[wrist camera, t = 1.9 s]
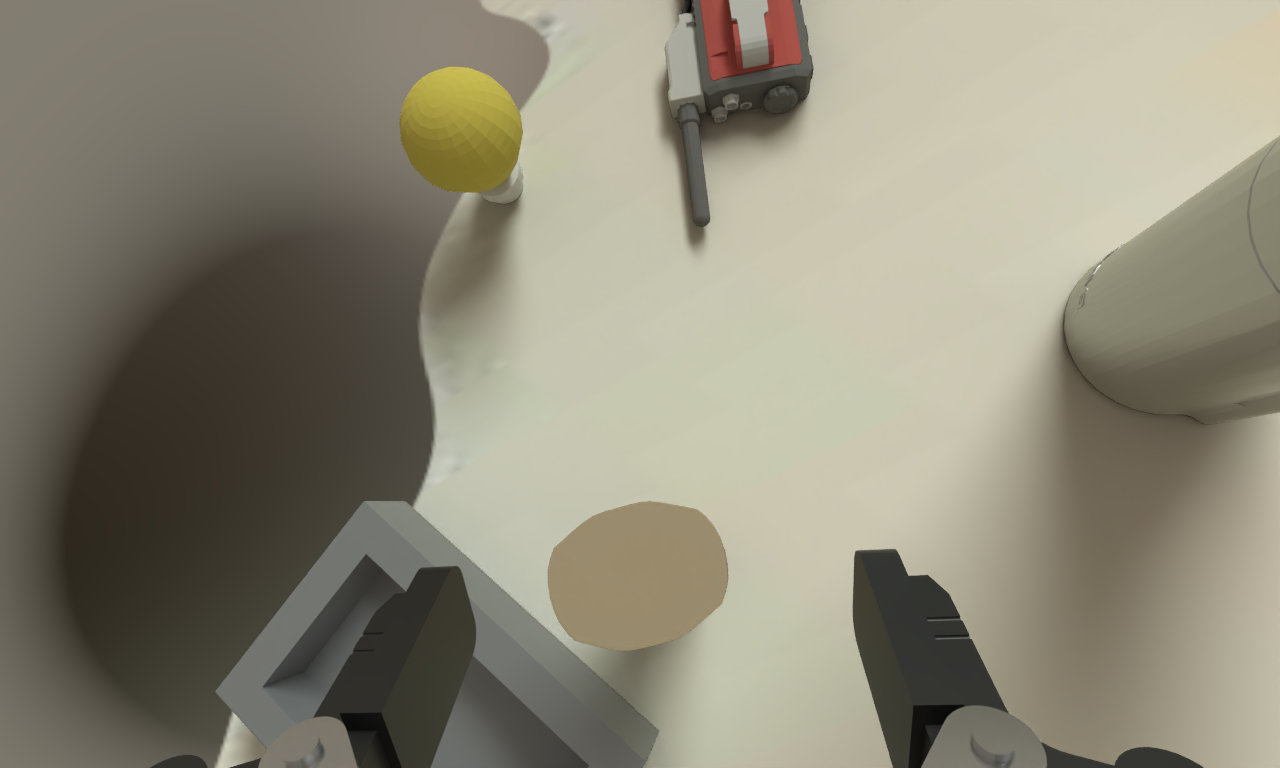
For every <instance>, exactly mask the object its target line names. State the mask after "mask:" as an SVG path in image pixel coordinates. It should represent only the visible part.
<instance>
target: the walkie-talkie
mask: <svg viewBox="0 0 1280 768" xmlns="http://www.w3.org/2000/svg"><path fill="white" fill-rule="evenodd" d="M692 8H693V13H691V14H690V11H691V0H685V5H684V7H683V10H682V14H680V15H679V23H678V25H677V26H676V28H675V30H674V31H673V33H672V35H671V36H670V38H669V40H668V41H667V43H666V45H665V54H666V63H667V72H668V80H669V91H668V100H669V105H670V110H671V114H672V117H673V118H677V117H678V119H679V126H680V128H681V129H682V133H683V141H684V150H685V158H686V166H687V174H688V182H689V190H690V198H691V206H692V214H693V221H694V223H695V224H696V225H697V226H699V227H704V226H706V225H707V224H708V223H709V222H710V213H709V205H708V197H707V189H706V182H705V174H704V166H703V159H702V151H701V143H700V135H699V128H698V127H699V125H700V118H699V113H704V112H707V113H708V114H709V115H711V116H712V117H714V121H715V122H719V123H720V122H723V121H725V120H726V119H727V114H728V113H733V112H739V111H744V110H749V109H755V108H760V107H764V109H765V110H767V112H770V113H782V112H785V111H787V110H789V109H791V108H793V107H794V106H795V104H796V103H797V101H798V100H803V99H805V98H806V97H807V95H808V93H809V89H810V81H811V79H812V75H813V64H812V58H811V55H810V54H809V48H808V34H807V28H806V26H805V24H804V18H803V12H802V6H801V5H800V0H692Z"/></svg>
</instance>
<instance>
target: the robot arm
mask: <svg viewBox="0 0 1280 768" xmlns="http://www.w3.org/2000/svg"><path fill="white" fill-rule="evenodd" d="M1064 331H1065V336H1066V341H1067V346H1068V349H1069V351H1070V354H1071V356H1072V358H1073V360H1074V363H1075V364H1076V366H1077V367H1078V369H1079V370H1080V371H1081V373H1082V374H1083V375H1084V377H1085V378H1086V379H1087V380H1088V381H1089V382H1090V383H1091V384H1092V385H1093V386H1094V387H1095V388H1097V389H1098V390H1099V391H1100V392H1101V393H1103V394H1104V395H1106V396H1108V397H1109V398H1111V399H1112V400H1114V401H1116V402H1117V403H1119V404H1122V405H1125V406H1127V407H1130V408H1132V409H1135V410H1138V411H1143V412H1149V413H1154V414H1183V415H1188V416H1191V417H1193V418H1195V419H1197V420H1198V421H1200V422H1202V423H1203V424H1206V425H1208V424H1215V423H1220V422H1226V421H1232V420H1238V419H1244V418H1250V417H1255V416H1261V415H1267V414H1273V413H1279V412H1280V136H1279V137H1277V138H1276V139H1274V140H1273V141H1272V142H1270V143H1269V144H1267V145H1266V146H1264V147H1263V148H1262V149H1260V150H1259V151H1257V152H1256V153H1254V154H1253V155H1252V156H1250V157H1249V158H1247V159H1246V160H1244V161H1243V162H1242V163H1240V164H1239V165H1237V166H1236V167H1234V168H1233V169H1232V170H1230V171H1229V172H1227V173H1226V174H1224V175H1223V176H1221V177H1220V178H1219V179H1217V180H1216V181H1214V182H1213V183H1211V184H1210V185H1209V186H1207V187H1206V188H1204V189H1203V190H1201V191H1200V192H1199V193H1197V194H1196V195H1194V196H1193V197H1191V198H1190V199H1189V200H1187V201H1186V202H1184V203H1183V204H1181V205H1180V206H1179V207H1177V208H1176V209H1174V210H1173V211H1171V212H1170V213H1169V214H1167V215H1166V216H1164V217H1163V218H1161V219H1160V220H1159V221H1157V222H1156V223H1154V224H1153V225H1151V226H1150V227H1149V228H1147V229H1146V230H1144V231H1143V232H1141V233H1140V234H1139V235H1137V236H1136V237H1134V238H1133V239H1132V240H1130V241H1129V242H1127V243H1126V244H1124V245H1122V246H1120V247H1118V248H1117V249H1116V250H1114V251H1113V252H1111V253H1110V254H1109V255H1107V256H1106V257H1105V258H1104V259H1103V260H1102V261H1100V262H1099V263H1098V264H1096V265H1095V266H1093V267H1092V268H1091V269H1090V270H1089V271H1088V272H1087V273H1086V274H1085V275H1084V276H1083V277H1082V278H1081V279H1080V280H1079V281H1078V283H1077V285H1076V286H1075V288H1074V290H1073V292H1072V293H1071V295H1070V297H1069V301H1068V304H1067V307H1066V311H1065V324H1064ZM853 623H854V631H855V637H856V641H857V645H858V649H859V652H860V656H861V659H862V662H863V666H864V669H865V673H866V676H867V680H868V683H869V686H870V690H871V693H872V697H873V700H874V704H875V707H876V710H877V714H878V717H879V721H880V724H881V728H882V731H883V734H884V738H885V741H886V745H887V748H888V751H889V755H890V758H891V762H892V765H893V768H1203V767H1202V766H1200V765H1199V764H1197V763H1195V762H1193V761H1191V760H1190V759H1188V758H1185V757H1183V756H1181V755H1179V754H1176V753H1173V752H1170V751H1167V750H1163V749H1158V748H1150V747H1139V748H1134V749H1130V750H1128V751H1126V752H1124V753H1123V754H1121V755H1120V756H1119V757H1118V759H1117V760H1116V763H1115V766H1113V765H1110V764H1106V763H1102V762H1098V761H1094V760H1090V759H1087V758H1083V757H1079V756H1075V755H1071V754H1068V753H1065V752H1061V751H1059V750H1056V749H1054V748H1052V747H1049V746H1047V745H1046V744H1044V743H1042V742H1040V740H1039V739H1038V737H1037V736H1036V735H1035V734H1034V732H1033V731H1032V730H1031V729H1030V728H1029V727H1028V726H1026V725H1025V724H1024V723H1023V722H1022V721H1020V720H1019V719H1017V718H1016V717H1014V716H1012V715H1010V714H1009V713H1008V711H1007V709H1006V708H1005V706H1004V704H1003V702H1002V700H1001V698H1000V696H999V694H998V692H997V690H996V688H995V686H994V684H993V682H992V680H991V678H990V676H989V674H988V671H987V669H986V667H985V665H984V663H983V661H982V659H981V657H980V655H979V653H978V651H977V649H976V647H975V645H974V643H973V641H972V639H970V638H969V633H968V631H967V629H966V627H965V625H964V623H963V621H961V620H960V615H959V613H958V611H957V609H956V607H955V605H954V603H953V601H952V599H951V597H950V595H949V594H948V593H947V592H946V591H945V590H944V589H943V588H942V587H941V586H940V585H938V584H937V583H936V582H935V581H934V580H933V579H932V578H931V577H929V576H928V575H920V576H908V574H907V572H906V569H905V567H904V565H903V563H902V560H901V558H900V556H899V554H898V552H897V550H895V549H884V550H859V551H856V552H855V557H854V586H853ZM475 644H476V623H475V618H474V615H473V611H472V607H471V604H470V600H469V596H468V593H467V589H466V585H465V582H464V578H463V574H462V572H461V569H460V568H459V567H458V566H441V567H422V568H420V569H419V570H418V571H417V573H416V575H415V576H414V578H413V580H412V582H411V584H410V586H409V587H408V589H407V591H406V593H397V594H394V595H393V596H392V597H391V598H390V599H389V600H388V601H387V602H385V603H384V604H383V605H382V606H381V607H380V608H379V609H378V610H377V611H376V612H375V613H374V615H373V616H372V618H371V620H370V621H369V623H368V625H367V626H366V628H365V630H364V632H363V637H360V638H359V640H358V642H357V644H356V645H355V647H354V649H353V654H350V655H349V657H348V659H347V661H346V662H345V664H344V666H343V667H342V669H341V671H340V673H339V674H338V676H337V678H336V679H335V681H334V683H333V684H332V686H331V688H330V690H329V691H328V693H327V695H326V696H325V698H324V700H323V701H322V703H321V705H320V707H319V708H318V710H317V712H316V713H315V715H314V717H313V718H311V719H308V720H305V721H302V722H300V723H298V724H296V725H294V726H293V727H291V728H289V729H288V730H286V731H285V732H284V733H282V734H281V735H280V736H279V737H278V738H276V739H275V740H274V742H273V743H272V744H271V745H270V746H269V747H268V749H267V750H266V751H265V753H264V755H263V756H262V758H260V759H257V760H254V761H250V762H247V763H244V764H240V765H237V766H234V767H230V768H431V765H432V762H433V760H434V757H435V754H436V752H437V749H438V746H439V744H440V741H441V738H442V736H443V733H444V730H445V728H446V725H447V722H448V720H449V717H450V714H451V712H452V709H453V706H454V704H455V701H456V698H457V696H458V693H459V690H460V688H461V685H462V682H463V680H464V677H465V674H466V672H467V669H468V666H469V664H470V661H471V658H472V656H473V653H474V649H475ZM151 768H208V767H207V765H206V763H205V762H204V761H203V760H202V759H201V758H199V757H197V756H193V755H183V756H177V757H173V758H170V759H167V760H164V761H162V762H160V763H158V764H156V765H154V766H152V767H151Z"/></svg>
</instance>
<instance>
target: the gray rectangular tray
mask: <svg viewBox="0 0 1280 768" xmlns="http://www.w3.org/2000/svg"><path fill="white" fill-rule="evenodd" d="M441 566H458V567H459V568H460V569H461V572H462V574H463V578H464V582H465V585H466V589H467V593H468V596H469V600H470V604H471V607H472V611H473V615H474V618H475V623H476V644H475V649H474V653H473V656H472V658H471V661H470V664H469V666H468V669H467V672H466V674H465V677H464V680H463V682H462V685H461V688H460V690H459V693H458V696H457V698H456V701H455V704H454V706H453V709H452V712H451V714H450V717H449V720H448V722H447V725H446V728H445V730H444V733H443V736H442V738H441V741H440V744H439V746H438V749H437V752H436V754H435V757H434V760H433V762H432V765H431V768H642V767H643V765H644V764H645V763H646V761H647V758H648V756H649V754H650V751H651V749H652V746H653V744H654V742H655V739H656V737H657V735H658V732H659V730H657V729H656V728H655V727H654V726H653V725H652V724H651V723H650V722H649V721H647V720H646V719H645V718H644V717H643V716H642V715H641V714H640V713H639V712H638V711H636V710H635V709H634V708H633V707H632V706H631V705H630V704H629V703H628V702H626V701H625V700H624V699H623V698H622V697H621V696H620V695H619V694H618V693H617V692H615V691H614V690H613V689H612V688H611V687H610V686H609V685H608V684H607V683H605V682H604V681H603V680H602V679H601V678H600V677H599V676H598V675H597V674H596V673H594V672H593V671H592V670H591V669H590V668H589V667H588V666H587V665H586V664H585V663H583V662H582V661H581V660H580V659H579V658H578V657H577V656H576V655H575V654H573V653H572V652H571V651H570V650H569V649H568V648H567V647H566V646H565V645H564V644H562V643H561V642H560V641H559V640H558V639H557V638H556V637H555V636H554V635H552V634H551V633H550V632H549V631H548V630H547V629H546V628H545V627H544V626H543V625H541V624H540V623H539V622H538V621H537V620H536V619H535V618H534V617H533V616H531V615H530V614H529V613H528V612H527V611H526V610H525V609H524V608H523V607H522V606H520V605H519V604H518V603H517V602H516V601H515V600H514V599H513V598H512V597H510V596H509V595H508V594H507V593H506V592H505V591H504V590H503V589H502V588H501V587H499V586H498V585H497V584H496V583H495V582H494V581H493V580H492V579H491V578H489V577H488V576H487V575H486V574H485V573H484V572H483V571H482V570H481V569H480V568H478V567H477V566H476V565H475V564H474V563H473V562H472V561H471V560H470V559H469V558H467V557H466V556H465V555H464V554H463V553H462V552H461V551H460V550H459V549H457V548H456V547H455V546H454V545H453V544H452V543H451V542H450V541H449V540H448V539H446V538H445V537H444V536H443V535H442V534H441V533H440V532H439V531H438V530H436V529H435V528H434V527H433V526H432V525H431V524H430V523H429V522H428V521H427V520H425V519H424V518H423V517H422V516H421V515H420V514H419V513H418V512H417V511H415V510H414V509H413V508H412V507H411V506H410V505H409V504H408V503H407V502H405V501H364V502H363V503H362V504H361V506H360V507H359V508H358V510H357V511H356V512H355V513H354V515H353V516H352V517H351V519H350V520H349V521H348V522H347V524H346V525H345V526H344V528H343V529H342V530H341V531H340V533H339V534H338V535H337V537H336V538H335V539H334V540H333V542H332V543H331V544H330V545H329V547H328V548H327V549H326V551H325V552H324V553H323V555H322V556H321V557H320V558H319V560H318V561H317V562H316V563H315V565H314V566H313V567H312V568H311V570H310V571H309V572H308V574H307V575H306V576H305V577H304V579H303V580H302V581H301V583H300V584H299V585H298V586H297V588H296V589H295V590H294V592H293V593H292V594H291V596H290V597H289V598H288V599H287V600H286V602H285V603H284V604H283V606H282V607H281V608H280V609H279V611H278V612H277V613H276V615H275V616H274V617H273V618H272V620H271V621H270V622H269V624H268V625H267V626H266V627H265V629H264V630H263V632H261V634H260V635H259V636H258V638H257V639H256V640H255V641H254V643H253V644H252V645H251V647H250V648H249V649H248V650H247V652H246V653H245V654H244V656H243V657H242V658H241V659H240V661H239V662H238V663H237V664H236V666H235V667H234V668H233V670H232V671H231V672H230V673H229V675H228V676H227V677H226V679H225V680H224V681H223V682H222V684H221V685H220V686H219V688H218V689H217V690H216V693H217V694H218V695H219V696H220V698H221V699H222V700H223V701H224V702H225V703H226V704H227V705H228V706H229V708H230V709H231V710H232V711H233V712H234V713H235V714H236V715H237V716H238V718H239V719H240V720H241V721H242V722H243V723H244V724H245V725H246V726H247V728H248V729H249V730H250V731H251V732H252V733H253V734H254V735H255V736H256V738H257V739H258V740H259V741H260V742H261V743H262V744H263V745H264V746H265V747H266V749H268V747H269V746H270V745H271V744H272V743H273V742H274V740H275V739H276V738H278V737H279V736H280V735H281V734H282V733H284V732H285V731H286V730H288V729H289V728H291V727H293V726H294V725H296V724H298V723H300V722H302V721H305V720H308V719H311V718H313V717H314V715H315V713H316V712H317V710H318V708H319V707H320V705H321V703H322V701H323V700H324V698H325V696H326V695H327V693H328V691H329V690H330V688H331V686H332V684H333V683H334V681H335V679H336V678H337V676H338V674H339V673H340V671H341V669H342V667H343V666H344V664H345V662H346V661H347V659H348V657H349V655H350V654H353V649H354V647H355V645H356V644H357V642H358V640H359V638H360V637H363V632H364V630H365V628H366V626H367V625H368V623H369V621H370V620H371V618H372V616H373V615H374V613H375V612H376V611H377V610H378V609H379V608H380V607H381V606H382V605H383V604H384V603H385V602H387V601H388V600H389V599H390V598H391V597H392V596H393V595H394V594H397V593H406V591H407V589H408V587H409V586H410V584H411V582H412V580H413V578H414V576H415V575H416V573H417V571H418V570H419V569H420V568H422V567H441Z"/></svg>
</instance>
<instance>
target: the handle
mask: <svg viewBox="0 0 1280 768" xmlns="http://www.w3.org/2000/svg"><path fill="white" fill-rule="evenodd" d="M727 583H728V564H727V559H726V554H725V549H724V547H723V544H722V541H721V538H720V536H719V534H718V533H717V531H716V529H715V527H714V525H713V524H712V523H711V522H710V521H709V520H708V518H707V517H706V516H705V515H704V514H702V513H701V512H700V511H699V510H697V509H693V508H688V507H683V506H678V505H672V504H666V503H660V502H651V501H648V502H639V503H635V504H630V505H627V506H623V507H619V508H616V509H612V510H608V511H605V512H602V513H600V514H597V515H595V516H592V517H591V518H590V519H588V520H587V521H585V522H584V523H582V524H581V525H580V526H578V527H577V528H576V529H575V530H574V531H573V532H571V533H570V534H569V535H568V536H567V537H566V538H565V539H564V540H562V541H561V542H560V543H559V544H558V545H557V546H556V547H555V548H554V549H553V552H552V555H551V558H550V562H549V567H548V587H549V594H550V599H551V603H552V606H553V609H554V612H555V614H556V616H557V618H558V620H559V623H560V624H561V626H562V627H563V628H564V630H565V631H566V632H567V633H568V634H569V635H570V636H571V637H572V638H573V639H574V640H575V641H578V642H582V643H586V644H590V645H594V646H598V647H602V648H607V649H611V650H621V651H629V650H636V649H642V648H646V647H650V646H654V645H658V644H662V643H666V642H669V641H672V640H674V639H677V638H680V637H682V636H683V635H685V634H686V633H688V632H689V631H691V630H692V629H694V628H695V627H696V626H697V625H698V624H699V623H701V622H702V621H703V620H704V619H705V618H706V617H708V616H709V615H710V614H711V613H712V612H713V611H714V610H715V609H716V608H718V607H719V606H720V605H721V604H722V602H723V599H724V596H725V593H726V588H727Z"/></svg>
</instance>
